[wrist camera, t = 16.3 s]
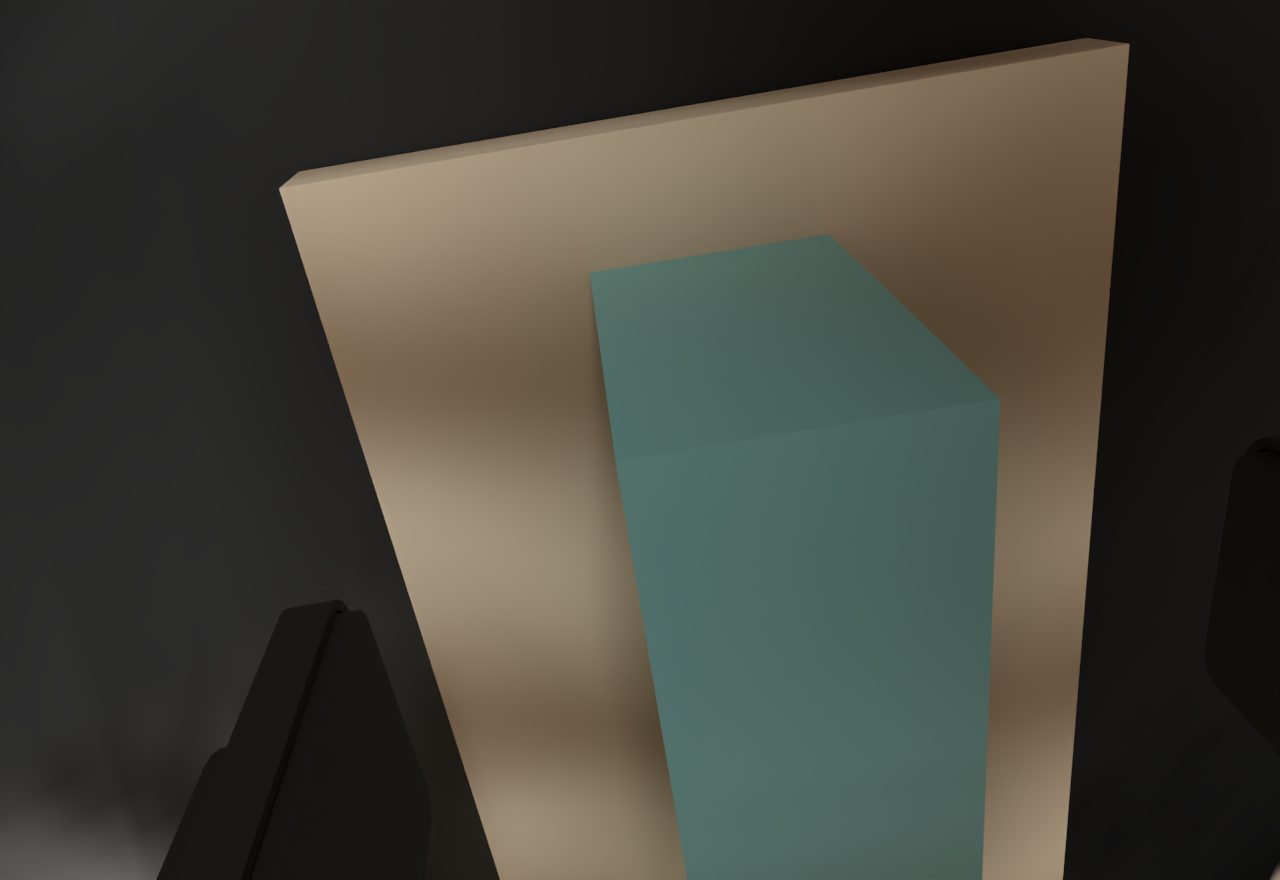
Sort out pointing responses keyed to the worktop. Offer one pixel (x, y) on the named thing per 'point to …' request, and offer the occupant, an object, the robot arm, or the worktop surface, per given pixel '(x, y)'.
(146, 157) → the worktop surface
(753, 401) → the teal rectangular block
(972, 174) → the tan board
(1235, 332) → the worktop surface
